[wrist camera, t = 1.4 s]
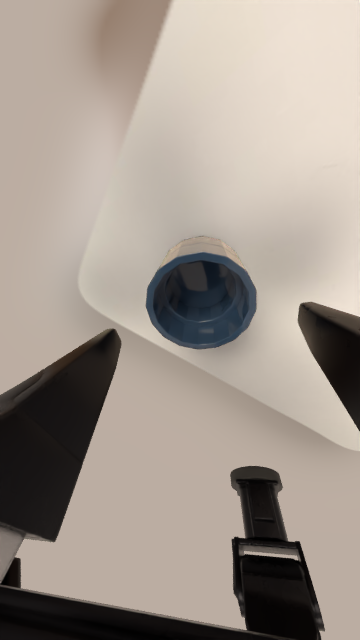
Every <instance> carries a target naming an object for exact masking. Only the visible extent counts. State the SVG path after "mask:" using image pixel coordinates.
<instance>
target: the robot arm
mask: <svg viewBox="0 0 360 640" xmlns="http://www.w3.org/2000/svg"><path fill="white" fill-rule="evenodd" d="M298 324H299V326H300V329H301V331H302V333H303V335H304V338H305V340H306V342H307V344H308V346H309V349H310V351H311V353H312V354H313V356H314V358H315V359H316V361H317V363H318V364H319V366H320V367H321V369H322V371H323V372H324V374H325V376H326V377H327V379H328V380H329V382H330V384H331V385H332V387H333V389H334V390H335V392H336V394H337V395H338V397H339V398H340V400H341V402H342V403H343V405H344V407H345V408H346V410H347V411H348V413H349V415H350V416H351V418H352V420H353V421H354V423H355V424H356V426H357V428H358V429H359V431H360V317H358V316H355V315H352V314H349V313H345V312H342V311H339V310H336V309H333V308H329V307H326V306H323V305H320V304H317V303H314V302H306V303H301V304H300V306H299V313H298ZM120 348H121V340H120V338H119V335H118V333H117V331H116V330H115V329H107V330H105V331H103V332H102V333H100V334H99V335H97V336H95V337H94V338H92V339H91V340H89V341H87V342H86V343H84V344H83V345H81V346H79V347H78V348H76V349H75V350H73V351H72V352H70V353H68V354H67V355H65V356H64V357H62V358H61V359H59V360H57V361H56V362H54V363H53V364H51V365H49V366H48V367H46V368H45V369H43V370H41V371H40V372H38V373H37V374H35V375H34V376H32V377H30V378H29V379H27V380H26V381H24V382H22V383H20V384H19V385H17V386H15V387H14V388H12V389H10V390H8V391H7V392H5V393H3V394H1V395H0V640H321V636H320V632H319V631H325V628H324V624H323V620H322V616H321V612H320V608H319V605H318V601H317V598H316V594H315V591H314V587H313V584H312V581H311V578H310V575H309V571H308V568H307V565H306V561H305V558H304V554H303V551H302V548H301V544H300V542H299V541H295V542H288V538H287V534H286V531H285V527H284V522H283V518H282V514H281V511H280V506H279V502H278V499H277V495H278V489H279V482H278V481H277V480H252V479H236V480H235V481H236V488H237V493H238V495H239V496H240V499H241V507H242V514H243V523H244V530H245V538H238V537H234V539H232V550H233V590H234V594H235V596H236V597H237V599H238V603H239V606H240V611H241V616H242V617H244V618H245V623H246V628H247V630H241V629H236V628H231V627H225V626H220V625H215V624H209V623H204V622H199V621H193V620H188V619H182V618H177V617H171V616H166V615H161V614H156V613H150V612H145V611H139V610H134V609H129V608H123V607H118V606H112V605H107V604H101V603H96V602H91V601H86V600H80V599H75V598H69V597H64V596H59V595H53V594H47V593H42V592H37V591H32V590H26V589H21V582H20V581H21V569H20V568H21V567H20V565H21V562H20V558H15V555H16V553H17V551H18V549H19V547H20V545H21V544H22V541H23V540H24V539H32V540H40V541H49V542H55V540H56V538H57V536H58V533H59V531H60V528H61V525H62V522H63V519H64V516H65V514H66V511H67V508H68V505H69V502H70V499H71V496H72V493H73V490H74V488H75V485H76V482H77V479H78V476H79V473H80V470H81V468H82V464H83V461H84V459H85V456H86V453H87V450H88V447H89V444H90V441H91V439H92V436H93V433H94V430H95V427H96V424H97V421H98V418H99V415H100V413H101V410H102V407H103V404H104V401H105V398H106V395H107V392H108V390H109V387H110V384H111V381H112V378H113V375H114V372H115V369H116V366H117V361H118V357H119V353H120ZM244 551H252V552H263V553H275V554H286V555H297V557H298V560H294V559H291V558H280V557H270V556H259V555H248V554H245V555H244Z"/></svg>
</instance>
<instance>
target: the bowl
mask: <svg viewBox="0 0 360 640" xmlns="http://www.w3.org/2000/svg"><path fill="white" fill-rule="evenodd" d="M146 308H147V311H148V314H149V317H150V320H151V322H152V324H153V325H154V327H155V328H156V329H157V330H158V331H159V332H160V333H161V334H162V336H163V337H165V338H166V339H168V340H170V341H172V342H174V343H176V344H177V345H179V346H183V347H188V348H193V349H207V348H216V347H219V346H221V345H224V344H226V343H228V342H231V341H233V340H235V339H236V338H237V337H238V336H239V335H240V334H241V333H242V332H243V331H245V330H246V329H247V328H248V326H249V324H250V322H251V320H252V318H253V316H254V314H255V312H256V288H255V286H254V284H253V282H252V280H251V279H250V277H249V275H248V273H247V271H246V269H245V268H244V266H243V264H242V262H241V261H240V259H239V257H238V256H237V254H236V252H235V251H234V250H233V249H232V248H230V247H229V246H228V245H226V244H225V243H224V242H222V241H221V240H219V239H214V238H209V237H204V236H200V237H195V238H190V239H186V240H184V241H182V242H180V243H179V244H177V245H176V246H175V247H173V248H172V249H171V250H170V251H168V253H167V255H166V257H165V258H164V260H163V262H162V263H161V265H160V267H159V269H158V270H157V272H156V274H155V275H154V277H153V279H152V281H151V282H150V284H149V286H148V288H147V298H146Z"/></svg>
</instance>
